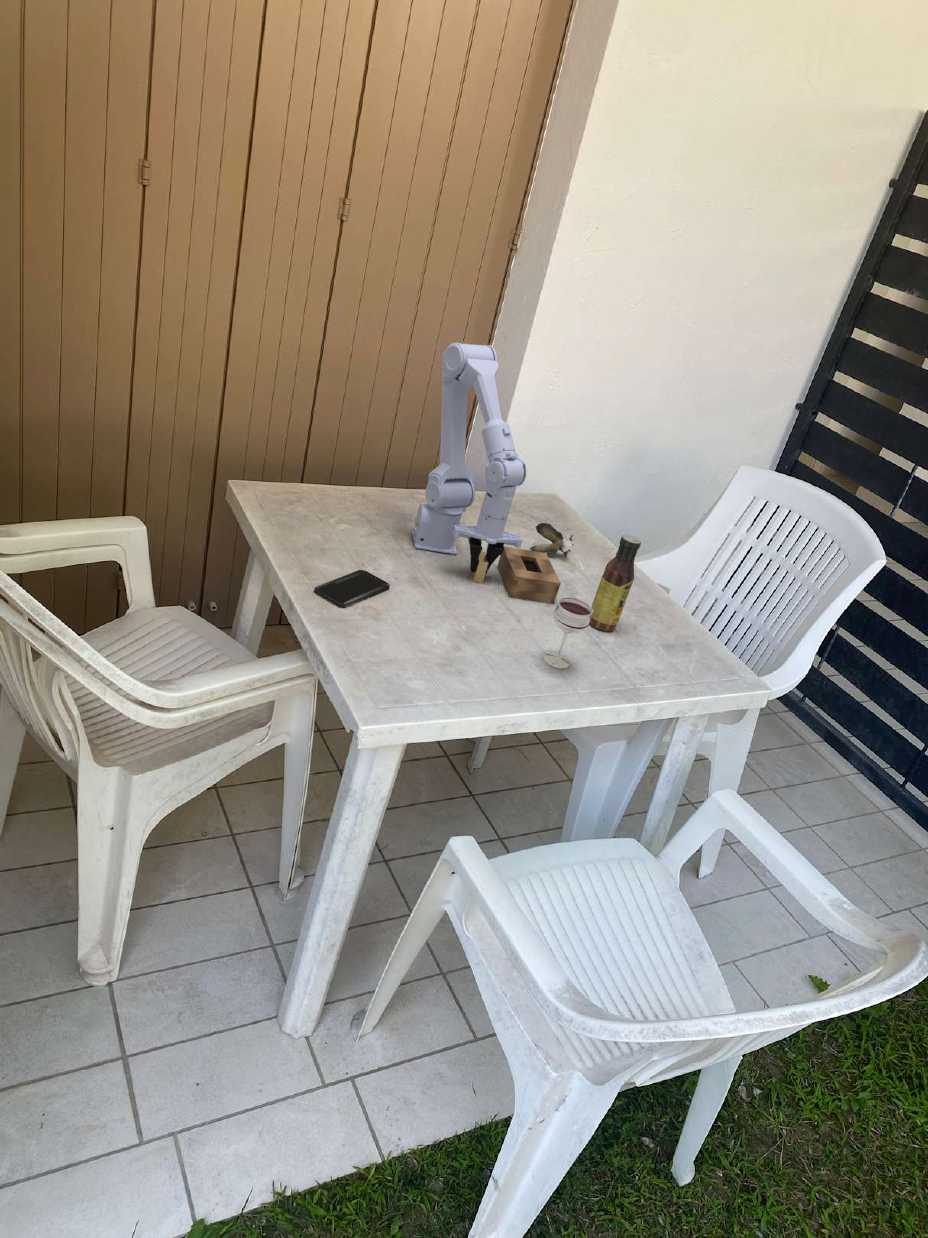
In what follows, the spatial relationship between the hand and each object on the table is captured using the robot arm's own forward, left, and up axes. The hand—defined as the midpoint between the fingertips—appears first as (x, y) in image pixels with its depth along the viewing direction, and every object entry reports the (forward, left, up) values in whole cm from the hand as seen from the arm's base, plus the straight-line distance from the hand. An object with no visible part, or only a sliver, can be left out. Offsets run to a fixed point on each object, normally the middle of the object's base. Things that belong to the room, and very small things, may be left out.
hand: (477, 571), depth 197 cm
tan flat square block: (0, 0, -1) cm, 1 cm away
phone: (-27, -14, -2) cm, 31 cm away
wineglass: (+11, -30, -2) cm, 32 cm away
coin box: (+11, 0, -1) cm, 11 cm away
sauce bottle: (+25, -13, -2) cm, 28 cm away
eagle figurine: (+21, +19, -2) cm, 28 cm away
